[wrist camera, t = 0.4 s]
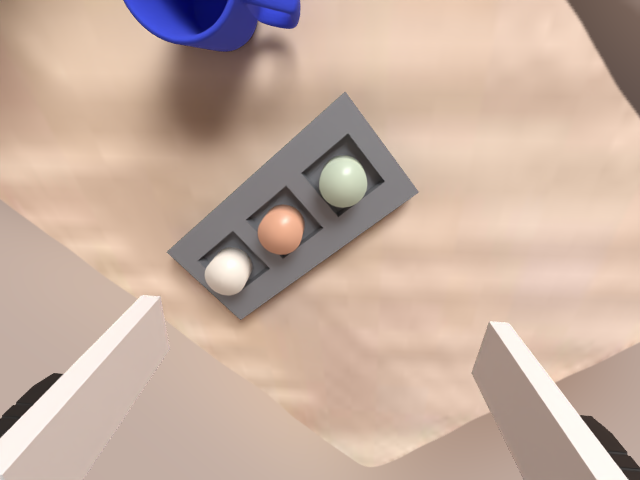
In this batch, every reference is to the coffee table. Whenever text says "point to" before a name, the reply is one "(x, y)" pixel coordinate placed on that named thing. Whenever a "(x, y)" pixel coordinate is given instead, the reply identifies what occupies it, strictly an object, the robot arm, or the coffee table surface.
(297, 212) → the button terracotta
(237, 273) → the button ivory
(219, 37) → the mug
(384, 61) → the coffee table surface
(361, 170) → the button sage
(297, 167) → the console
